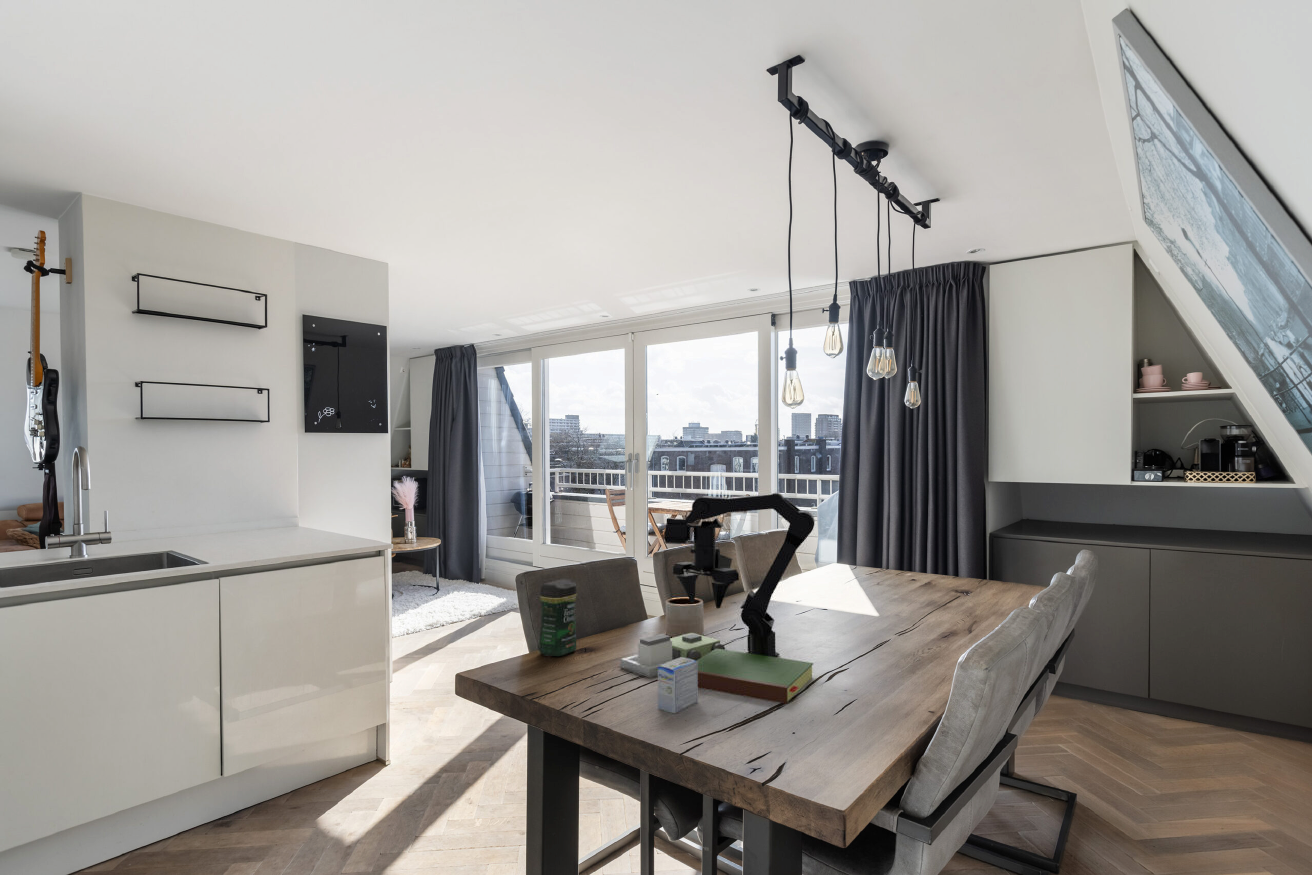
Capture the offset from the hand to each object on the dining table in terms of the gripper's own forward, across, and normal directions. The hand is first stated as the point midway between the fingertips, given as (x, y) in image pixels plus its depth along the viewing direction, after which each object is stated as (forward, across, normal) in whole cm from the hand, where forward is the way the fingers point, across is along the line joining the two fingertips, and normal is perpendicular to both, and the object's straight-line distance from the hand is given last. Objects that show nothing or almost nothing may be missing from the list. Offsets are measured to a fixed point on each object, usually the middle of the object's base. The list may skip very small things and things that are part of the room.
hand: (705, 605), depth 171 cm
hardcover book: (+13, -22, +9) cm, 27 cm away
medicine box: (+12, -22, +31) cm, 40 cm away
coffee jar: (+12, +26, +28) cm, 40 cm away
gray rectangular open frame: (+12, 0, +18) cm, 21 cm away
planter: (+12, +16, -8) cm, 22 cm away
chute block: (+12, 0, +18) cm, 21 cm away
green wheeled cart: (+12, 0, +6) cm, 13 cm away
